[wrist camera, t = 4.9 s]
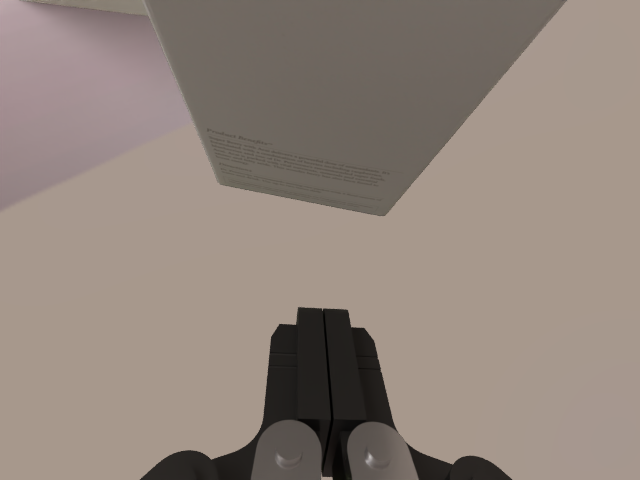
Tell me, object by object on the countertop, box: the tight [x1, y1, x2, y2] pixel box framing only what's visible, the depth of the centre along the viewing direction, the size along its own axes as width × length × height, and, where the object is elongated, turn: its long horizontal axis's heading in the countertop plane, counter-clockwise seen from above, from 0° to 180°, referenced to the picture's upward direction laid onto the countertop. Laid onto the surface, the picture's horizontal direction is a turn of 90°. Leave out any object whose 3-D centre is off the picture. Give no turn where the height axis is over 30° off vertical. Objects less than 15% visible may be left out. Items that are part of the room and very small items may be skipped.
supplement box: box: [142, 0, 567, 216], centre depth 12 cm, size 9×9×15 cm
